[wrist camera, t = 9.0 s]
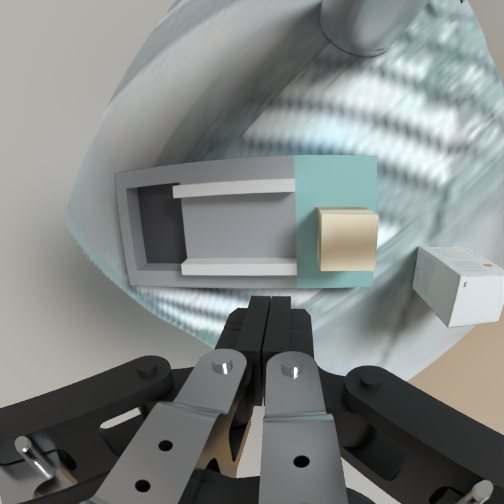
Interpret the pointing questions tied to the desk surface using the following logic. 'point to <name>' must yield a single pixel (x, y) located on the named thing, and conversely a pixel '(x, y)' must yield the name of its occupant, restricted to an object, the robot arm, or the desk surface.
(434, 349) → the desk surface
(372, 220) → the block
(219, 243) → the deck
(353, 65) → the desk surface
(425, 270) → the small box
